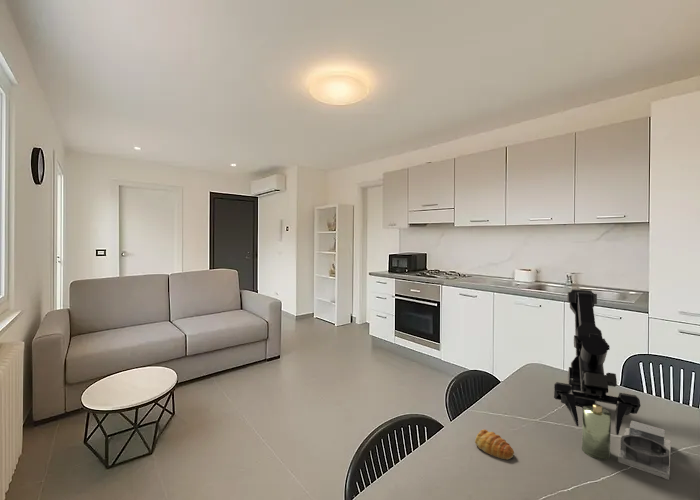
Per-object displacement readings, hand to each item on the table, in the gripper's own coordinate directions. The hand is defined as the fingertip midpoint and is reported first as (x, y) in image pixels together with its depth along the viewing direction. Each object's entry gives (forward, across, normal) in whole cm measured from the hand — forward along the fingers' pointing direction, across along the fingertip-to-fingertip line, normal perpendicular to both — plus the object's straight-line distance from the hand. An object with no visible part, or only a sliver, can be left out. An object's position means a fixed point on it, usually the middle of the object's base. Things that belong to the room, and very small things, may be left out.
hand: (596, 429), depth 89 cm
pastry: (+12, -24, -2) cm, 27 cm away
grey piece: (0, +11, +9) cm, 15 cm away
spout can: (+4, 0, +6) cm, 7 cm away
